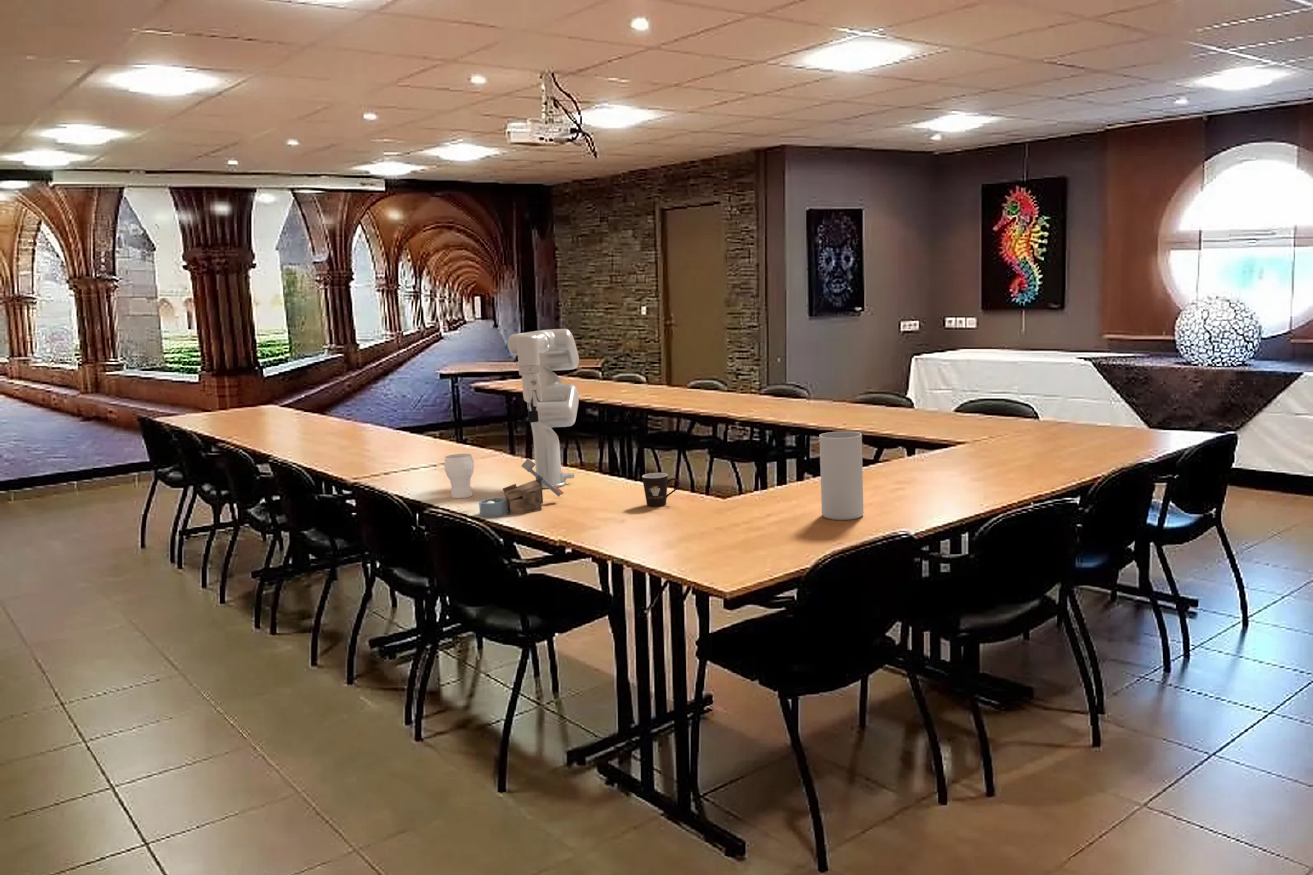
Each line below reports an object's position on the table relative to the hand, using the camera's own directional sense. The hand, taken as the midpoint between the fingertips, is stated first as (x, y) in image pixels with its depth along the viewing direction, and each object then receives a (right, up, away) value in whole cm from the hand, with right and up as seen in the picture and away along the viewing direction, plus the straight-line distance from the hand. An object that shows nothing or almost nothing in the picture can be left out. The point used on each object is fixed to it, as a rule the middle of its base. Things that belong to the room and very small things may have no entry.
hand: (533, 421), depth 348 cm
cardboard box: (-1, -30, -13) cm, 32 cm away
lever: (+5, -21, -13) cm, 25 cm away
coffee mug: (+45, -28, -20) cm, 57 cm away
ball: (-12, -29, -20) cm, 37 cm away
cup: (-28, -27, +13) cm, 41 cm away
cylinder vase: (+100, -30, -48) cm, 115 cm away
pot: (-11, -31, -19) cm, 38 cm away
